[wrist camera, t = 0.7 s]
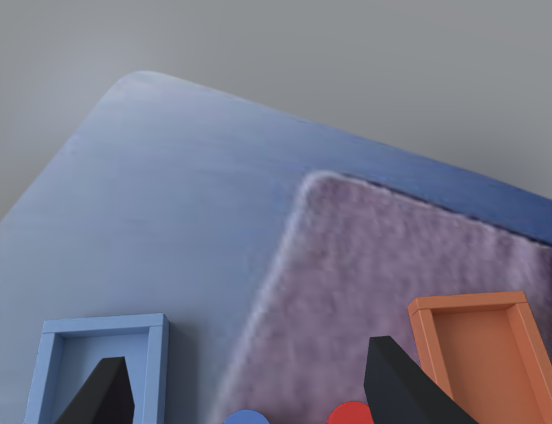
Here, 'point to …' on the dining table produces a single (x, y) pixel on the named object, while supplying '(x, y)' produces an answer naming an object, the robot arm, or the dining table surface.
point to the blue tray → (89, 351)
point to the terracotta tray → (485, 355)
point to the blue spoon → (246, 417)
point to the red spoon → (351, 414)
